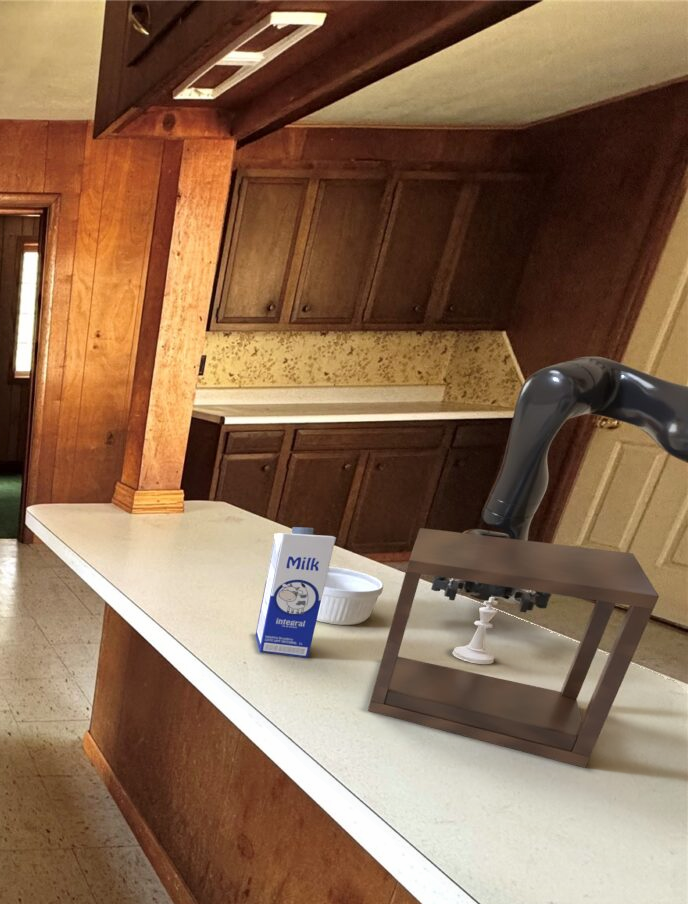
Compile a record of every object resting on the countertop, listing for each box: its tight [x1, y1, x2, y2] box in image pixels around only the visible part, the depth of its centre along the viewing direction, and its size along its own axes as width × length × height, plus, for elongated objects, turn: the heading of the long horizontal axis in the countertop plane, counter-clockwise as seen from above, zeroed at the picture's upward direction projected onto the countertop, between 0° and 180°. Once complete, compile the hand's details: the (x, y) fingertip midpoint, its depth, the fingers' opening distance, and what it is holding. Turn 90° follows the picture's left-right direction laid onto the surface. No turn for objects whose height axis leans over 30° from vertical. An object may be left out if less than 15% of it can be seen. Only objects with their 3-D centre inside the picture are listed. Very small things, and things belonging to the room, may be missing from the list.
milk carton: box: [255, 526, 337, 659], centre depth 104 cm, size 7×7×20 cm
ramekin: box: [316, 566, 384, 626], centre depth 119 cm, size 13×13×7 cm
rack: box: [367, 527, 660, 768], centre depth 85 cm, size 21×18×22 cm
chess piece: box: [451, 597, 499, 665], centre depth 101 cm, size 5×5×10 cm
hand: (488, 600), depth 103 cm, fingers open, 8 cm apart
